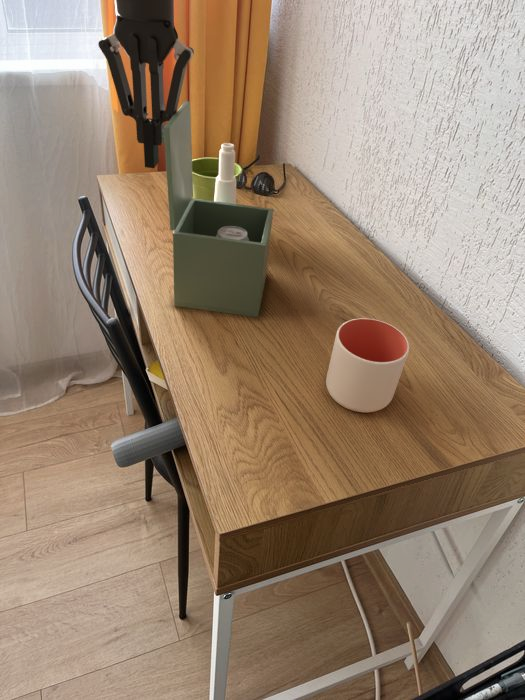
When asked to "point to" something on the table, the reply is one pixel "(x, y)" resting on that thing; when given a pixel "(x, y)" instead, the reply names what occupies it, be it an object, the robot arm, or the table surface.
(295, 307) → the table surface
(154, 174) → the table surface
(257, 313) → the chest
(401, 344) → the cup
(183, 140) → the lid
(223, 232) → the beverage can
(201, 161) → the plant pot
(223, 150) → the cosmetic bottle
